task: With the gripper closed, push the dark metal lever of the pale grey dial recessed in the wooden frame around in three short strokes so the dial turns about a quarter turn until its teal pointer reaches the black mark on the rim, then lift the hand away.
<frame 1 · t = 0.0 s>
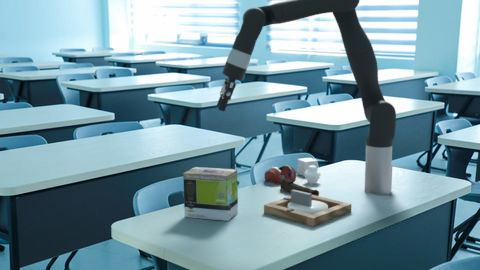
hand: (220, 108, 212), 31 cm above the table, tool tilted 20°, fingers open, 8 cm apart
wooden frame: (307, 212, 199), on the table
muffin: (312, 183, 236), on the table
tea box: (211, 215, 197), on the table
teeth model: (280, 181, 239), on the table
hand tool: (296, 196, 220), on the table
dial: (307, 201, 198), point 4 cm above the table, hinge at 0.0°
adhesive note: (307, 174, 250), on the table
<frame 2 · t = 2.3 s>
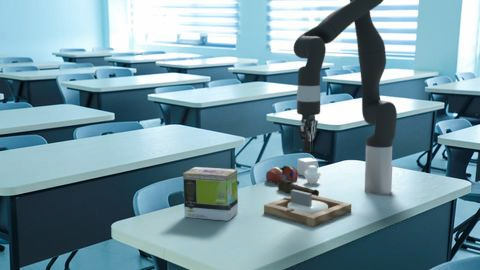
hand: (307, 151, 201), 19 cm above the table, tool pointing down, fingers closed
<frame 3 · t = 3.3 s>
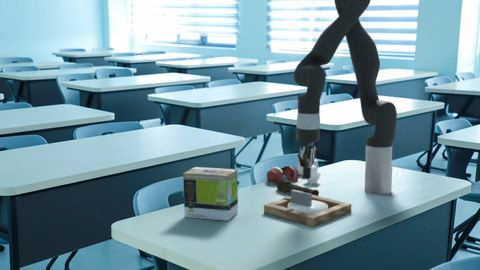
hand: (306, 178, 202), 10 cm above the table, tool pointing down, fingers closed
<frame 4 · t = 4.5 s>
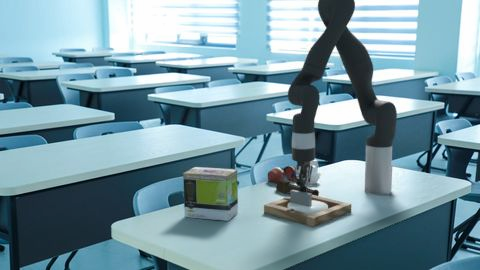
hand: (303, 196, 203), 4 cm above the table, tool pointing down, fingers closed
dial: (307, 201, 198), point 4 cm above the table, hinge at 2.9°, touching gripper
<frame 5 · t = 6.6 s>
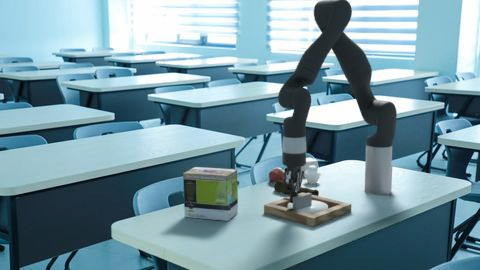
hand: (293, 202, 197), 4 cm above the table, tool pointing down, fingers closed
dial: (307, 201, 198), point 4 cm above the table, hinge at 88.1°, touching gripper
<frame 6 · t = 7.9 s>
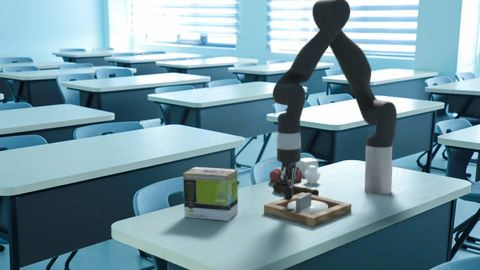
hand: (288, 198, 197), 5 cm above the table, tool pointing down, fingers closed
dial: (307, 201, 198), point 4 cm above the table, hinge at 100.0°
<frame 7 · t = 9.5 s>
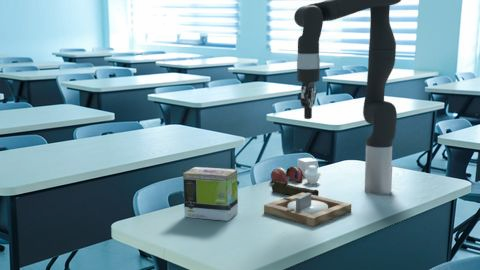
hand: (308, 118, 207), 29 cm above the table, tool pointing down, fingers closed
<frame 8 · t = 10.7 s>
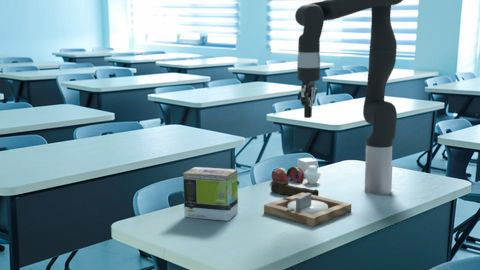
hand: (307, 117, 208), 29 cm above the table, tool pointing down, fingers closed
at the end: dial at +100° (first picture: +0°); dial touching nothing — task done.
